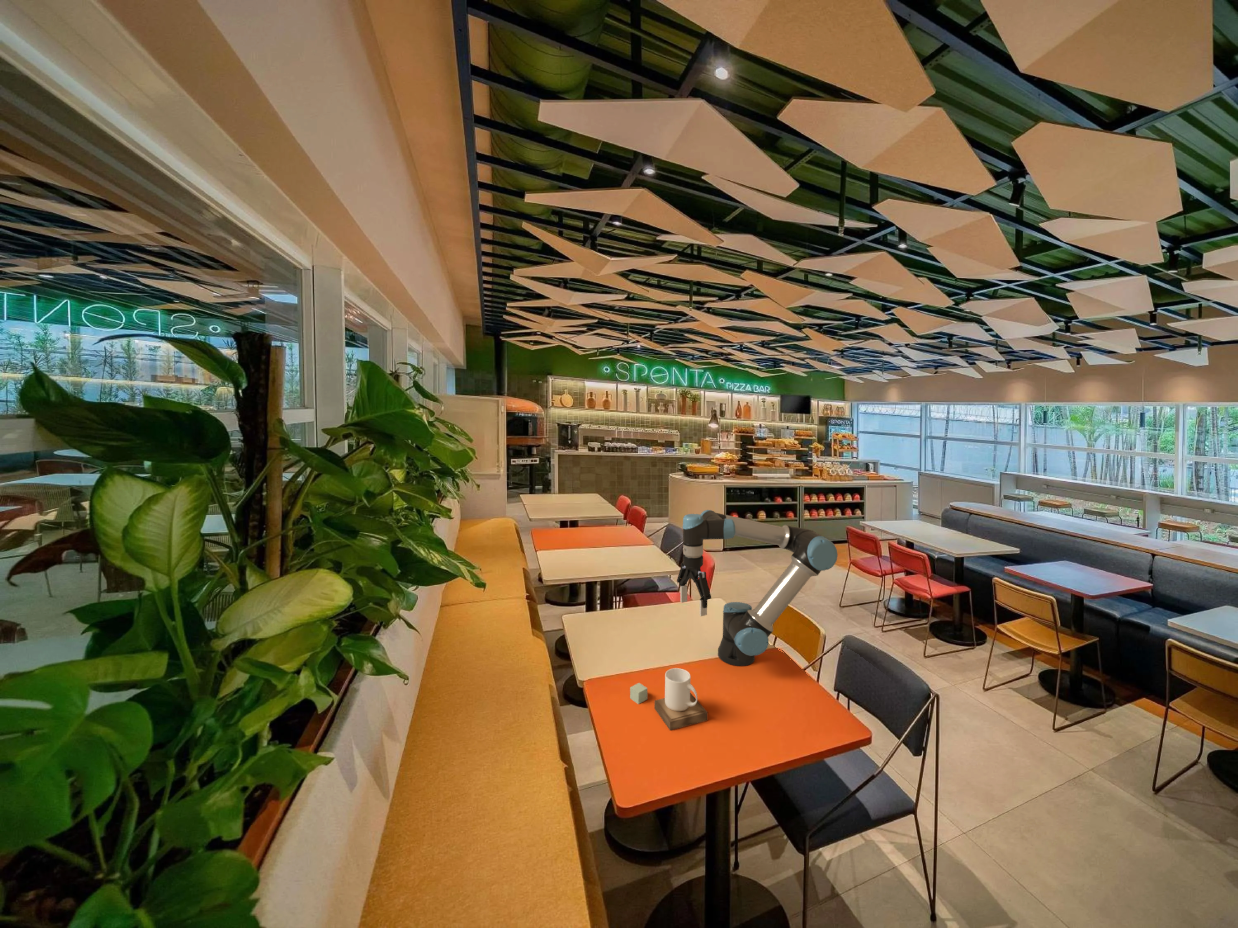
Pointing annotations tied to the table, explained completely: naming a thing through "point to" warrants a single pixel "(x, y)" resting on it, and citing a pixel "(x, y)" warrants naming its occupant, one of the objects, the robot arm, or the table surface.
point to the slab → (680, 714)
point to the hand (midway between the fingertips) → (693, 608)
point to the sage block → (638, 693)
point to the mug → (678, 689)
